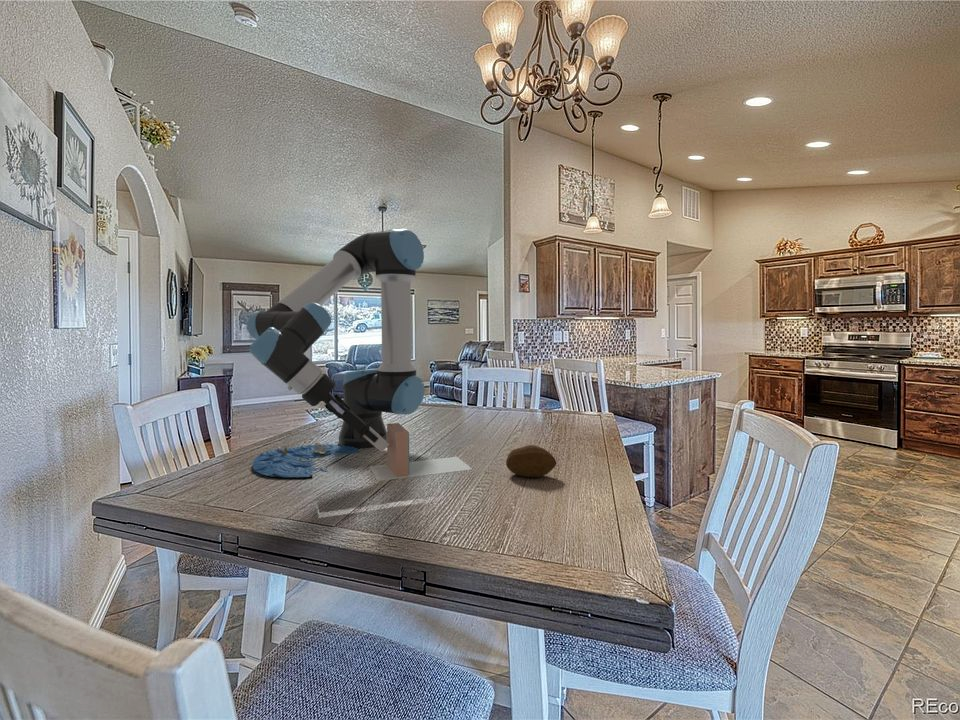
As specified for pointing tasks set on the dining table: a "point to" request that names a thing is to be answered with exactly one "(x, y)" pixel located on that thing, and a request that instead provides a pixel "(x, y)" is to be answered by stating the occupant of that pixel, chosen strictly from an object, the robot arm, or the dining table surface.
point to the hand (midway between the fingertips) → (384, 447)
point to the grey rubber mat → (422, 468)
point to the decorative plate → (296, 460)
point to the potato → (530, 461)
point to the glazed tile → (398, 449)
